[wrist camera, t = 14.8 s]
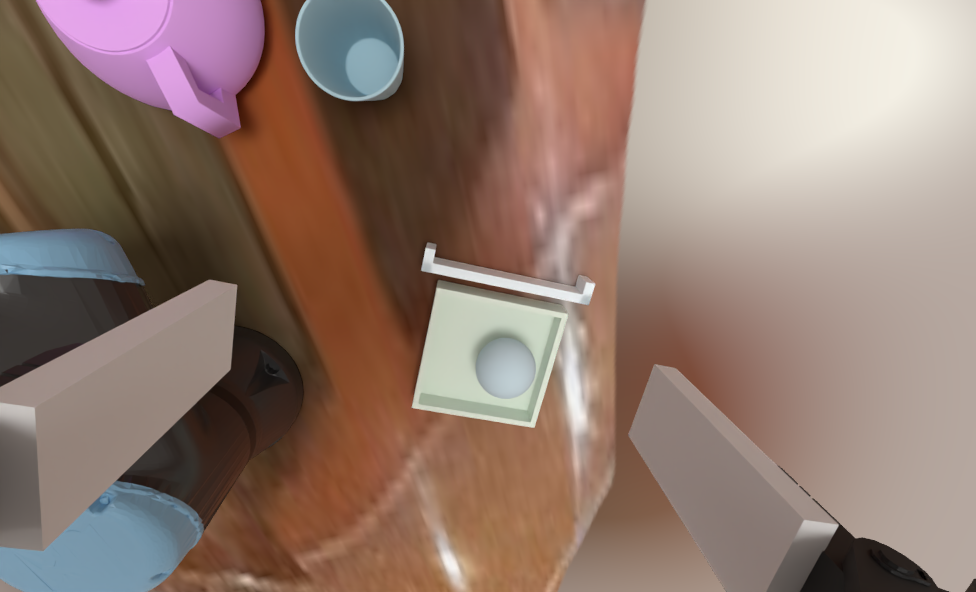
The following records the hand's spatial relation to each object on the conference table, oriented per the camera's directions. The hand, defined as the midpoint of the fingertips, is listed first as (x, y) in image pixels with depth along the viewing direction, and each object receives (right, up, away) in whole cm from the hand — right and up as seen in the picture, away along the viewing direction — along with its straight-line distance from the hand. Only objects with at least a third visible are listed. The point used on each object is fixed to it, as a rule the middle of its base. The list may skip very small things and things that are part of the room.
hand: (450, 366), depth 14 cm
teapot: (-26, +27, +26) cm, 46 cm away
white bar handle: (+3, +4, +35) cm, 36 cm away
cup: (-10, +24, +29) cm, 38 cm away
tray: (+1, -4, +38) cm, 38 cm away
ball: (+1, -4, +37) cm, 37 cm away
